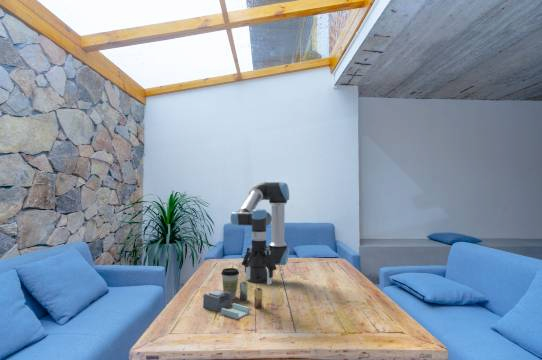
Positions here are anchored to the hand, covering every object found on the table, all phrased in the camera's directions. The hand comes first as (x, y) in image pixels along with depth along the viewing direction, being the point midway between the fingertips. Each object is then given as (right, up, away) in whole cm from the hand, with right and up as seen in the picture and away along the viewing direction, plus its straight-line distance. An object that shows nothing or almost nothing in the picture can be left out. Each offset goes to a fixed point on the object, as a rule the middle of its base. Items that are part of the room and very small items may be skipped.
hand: (258, 281), depth 159 cm
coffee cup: (-16, -14, +15) cm, 26 cm away
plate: (-21, -7, +1) cm, 22 cm away
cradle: (-21, -13, +1) cm, 25 cm away
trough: (-11, -13, -9) cm, 19 cm away
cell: (0, -13, 0) cm, 13 cm away
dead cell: (-8, -13, +11) cm, 19 cm away
